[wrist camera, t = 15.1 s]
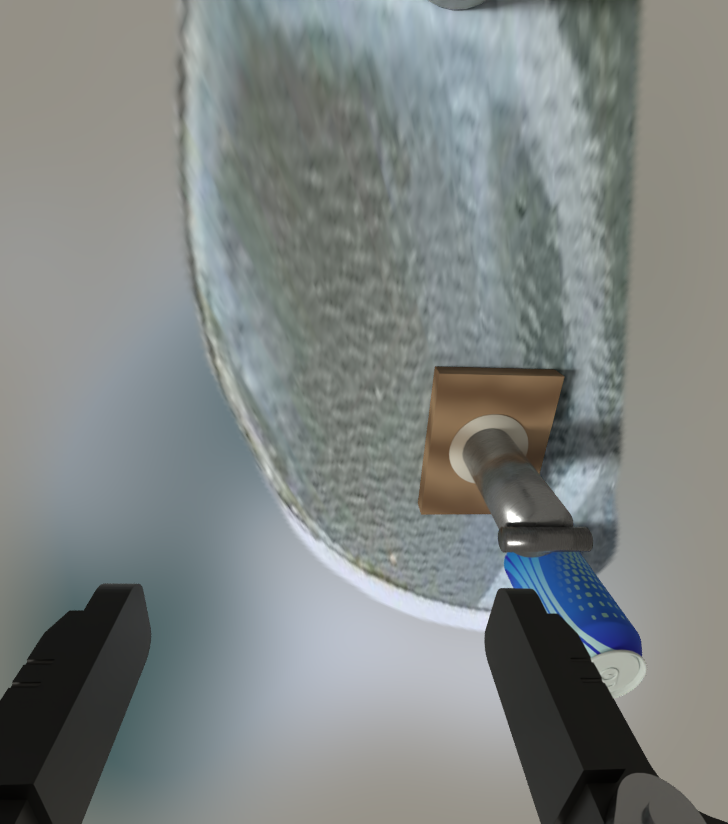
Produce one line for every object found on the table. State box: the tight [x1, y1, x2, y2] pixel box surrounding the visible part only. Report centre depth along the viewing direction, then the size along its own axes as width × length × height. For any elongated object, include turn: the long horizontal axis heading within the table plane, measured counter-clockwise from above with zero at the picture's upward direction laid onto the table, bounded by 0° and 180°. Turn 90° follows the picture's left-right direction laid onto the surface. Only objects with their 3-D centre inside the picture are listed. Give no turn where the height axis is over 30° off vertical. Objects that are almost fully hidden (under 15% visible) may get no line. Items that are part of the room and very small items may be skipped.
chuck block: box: [418, 367, 564, 514], centre depth 45 cm, size 16×12×2 cm
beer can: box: [504, 552, 647, 698], centre depth 46 cm, size 8×8×16 cm
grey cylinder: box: [462, 428, 593, 558], centre depth 38 cm, size 5×6×14 cm
